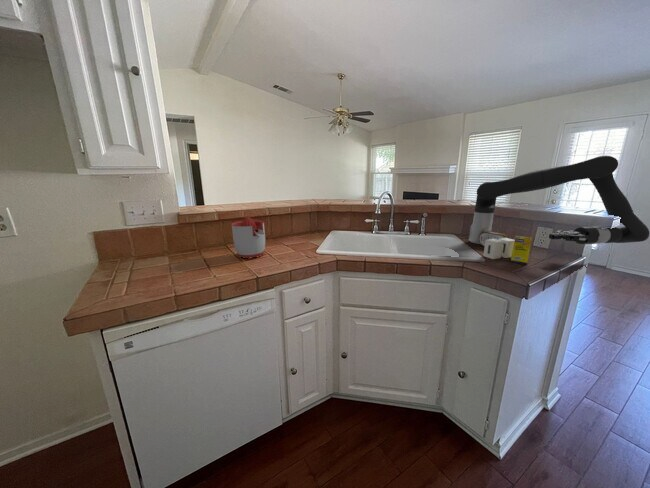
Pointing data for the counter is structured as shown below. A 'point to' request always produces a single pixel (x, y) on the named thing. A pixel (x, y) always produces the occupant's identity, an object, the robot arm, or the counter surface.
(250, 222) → the citrus juicer
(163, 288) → the counter surface
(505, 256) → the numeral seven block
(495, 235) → the tin
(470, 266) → the counter surface
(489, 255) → the numeral one block
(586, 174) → the robot arm
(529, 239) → the supplement box
